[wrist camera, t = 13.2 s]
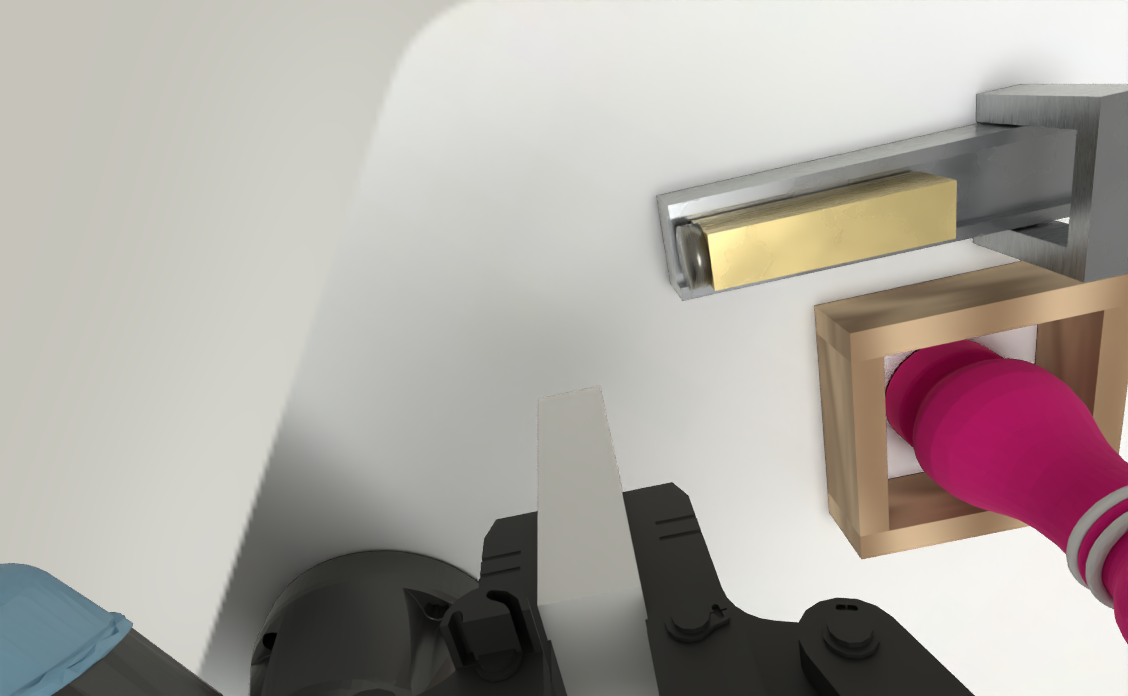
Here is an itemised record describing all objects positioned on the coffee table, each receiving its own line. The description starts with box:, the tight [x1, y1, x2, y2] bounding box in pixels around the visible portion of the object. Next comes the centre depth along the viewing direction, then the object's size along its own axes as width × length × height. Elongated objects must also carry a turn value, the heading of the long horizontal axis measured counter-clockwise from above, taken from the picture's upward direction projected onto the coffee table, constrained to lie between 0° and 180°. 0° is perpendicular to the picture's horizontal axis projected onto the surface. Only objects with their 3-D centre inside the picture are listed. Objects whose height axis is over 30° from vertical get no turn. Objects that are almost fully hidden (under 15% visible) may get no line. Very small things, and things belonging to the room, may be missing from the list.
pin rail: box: [657, 84, 1128, 301], centre depth 28 cm, size 20×7×7 cm, turn 102°
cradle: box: [815, 261, 1128, 559], centre depth 33 cm, size 13×13×4 cm
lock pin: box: [676, 171, 957, 291], centre depth 28 cm, size 11×3×3 cm, turn 102°
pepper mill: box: [885, 340, 1128, 644], centre depth 26 cm, size 7×7×20 cm
